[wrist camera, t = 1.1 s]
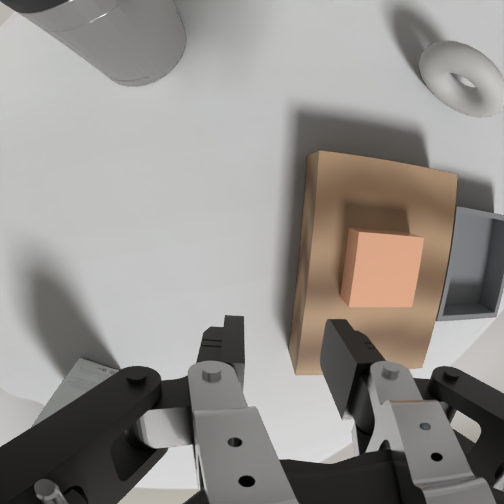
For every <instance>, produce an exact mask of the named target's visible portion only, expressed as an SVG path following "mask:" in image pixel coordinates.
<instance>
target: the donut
mask: <svg viewBox="0 0 504 504" xmlns="http://www.w3.org/2000/svg"><path fill="white" fill-rule="evenodd" d="M419 70H420V73H421V76H422V79H423V81H424V82H425V84H426V85H427V87H428V88H429V90H430V91H431V92H432V93H433V94H434V95H435V96H436V97H437V98H438V99H439V100H441V101H442V102H443V103H444V104H446V105H447V106H449V107H451V108H452V109H454V110H456V111H458V112H460V113H463V114H465V115H468V116H473V117H477V118H482V117H491V116H493V115H496V114H498V113H499V112H500V111H501V110H502V108H503V107H504V79H503V76H502V74H501V73H500V71H499V70H498V68H497V67H496V66H495V64H494V63H493V62H492V61H491V60H490V59H488V58H487V57H486V56H485V55H484V54H482V53H481V52H480V51H478V50H476V49H474V48H472V47H471V46H469V45H466V44H462V43H459V42H455V41H439V42H436V43H433V44H431V45H428V47H427V48H426V49H425V50H424V51H423V52H422V54H421V56H420V62H419ZM451 73H455V74H458V75H461V76H463V77H464V78H466V79H468V80H469V81H470V82H472V83H473V84H474V85H475V87H476V88H474V87H470V86H467V85H464V84H463V83H461V82H459V81H458V80H456V79H455V78H454V77H453V76H452V75H451Z"/></svg>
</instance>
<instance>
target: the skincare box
mask: <svg viewBox="0 0 504 504" xmlns="http://www.w3.org/2000/svg"><path fill="white" fill-rule="evenodd" d="M118 371H119V370H116V369H113V368H109V367H106V366H103V365H100V364H98V363H95V362H92V361H89V360H87V359H84V358H80V359H78V361H77V362H76V363H75V365H74V366H73V368H72V369H71V370H70V372H69V373H68V374H67V376H66V377H65V379H64V380H63V381H62V383H61V384H60V386H59V387H58V388H57V390H56V391H55V393H54V394H53V396H52V397H51V399H50V400H49V402H48V403H47V404H46V406H45V407H44V409H43V411H42V412H41V413H40V415H39V416H38V418H37V419H36V421H35V422H34V424H33V425H32V427H33V426H35V425H36V424H38V423H39V422H41V421H43V420H44V419H46V418H47V417H49V416H50V415H52V414H54V413H55V412H57V411H58V410H60V409H61V408H63V407H64V406H66V405H68V404H69V403H71V402H72V401H74V400H75V399H77V398H78V397H80V396H81V395H83V394H84V393H86V392H87V391H89V390H91V389H92V388H94V387H95V386H97V385H98V384H100V383H101V382H103V381H104V380H106V379H107V378H109V377H110V376H112V375H113V374H115V373H116V372H118ZM32 427H31V428H32Z"/></svg>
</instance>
